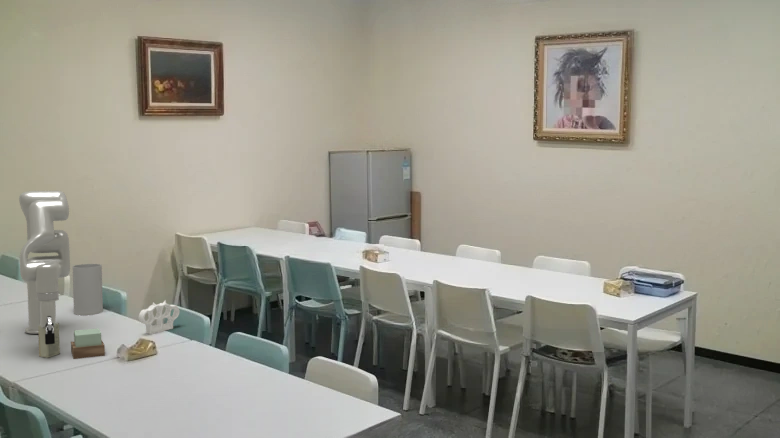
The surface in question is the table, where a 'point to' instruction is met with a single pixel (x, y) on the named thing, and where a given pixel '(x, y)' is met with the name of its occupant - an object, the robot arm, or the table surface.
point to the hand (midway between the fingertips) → (49, 341)
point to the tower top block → (87, 337)
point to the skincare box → (48, 349)
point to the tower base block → (87, 351)
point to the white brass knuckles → (159, 317)
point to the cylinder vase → (87, 289)
